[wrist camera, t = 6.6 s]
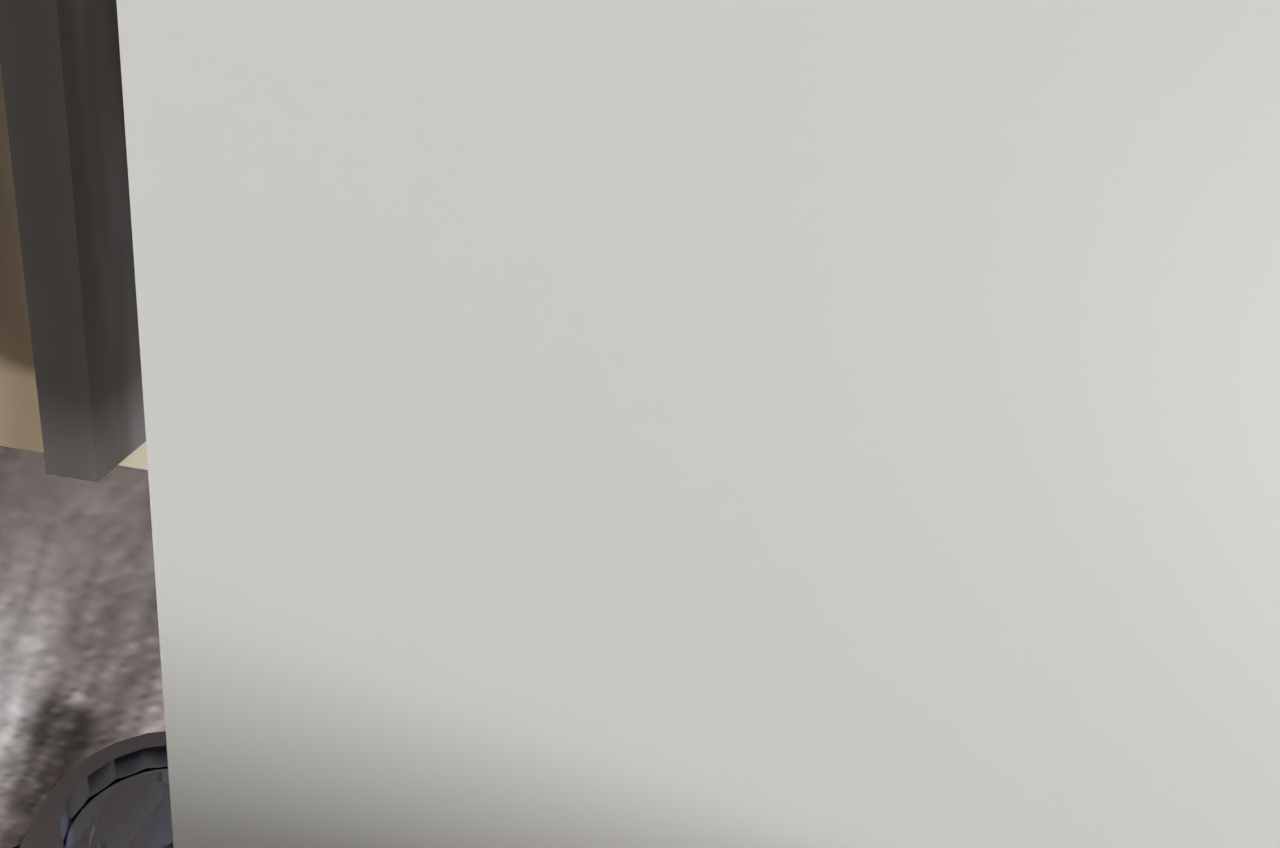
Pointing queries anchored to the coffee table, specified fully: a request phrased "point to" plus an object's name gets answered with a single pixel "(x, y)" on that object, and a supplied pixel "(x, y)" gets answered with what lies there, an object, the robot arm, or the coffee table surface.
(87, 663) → the coffee table surface
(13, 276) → the groove stand
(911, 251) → the cabinet block
